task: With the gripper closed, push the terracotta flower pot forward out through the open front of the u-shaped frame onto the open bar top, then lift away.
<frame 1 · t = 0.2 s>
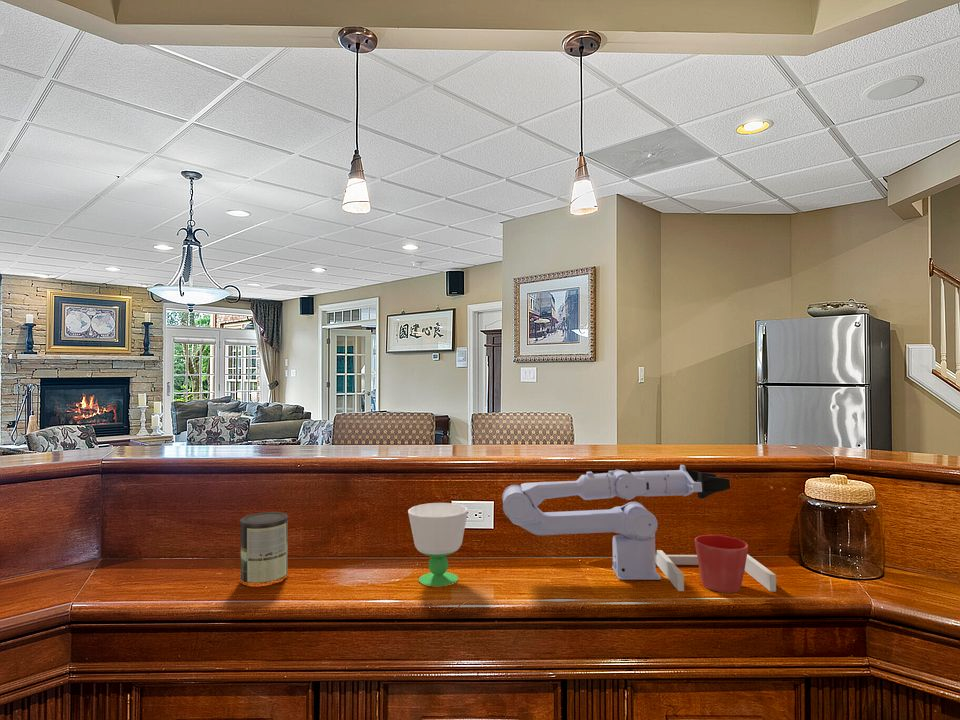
hand: (722, 481, 131), 21 cm above the table, tool horizontal, fingers open, 7 cm apart
cup: (438, 580, 128), on the table
coffee can: (264, 580, 130), on the table
flower pot: (721, 587, 123), on the table
u-shaped frame: (712, 577, 128), on the table
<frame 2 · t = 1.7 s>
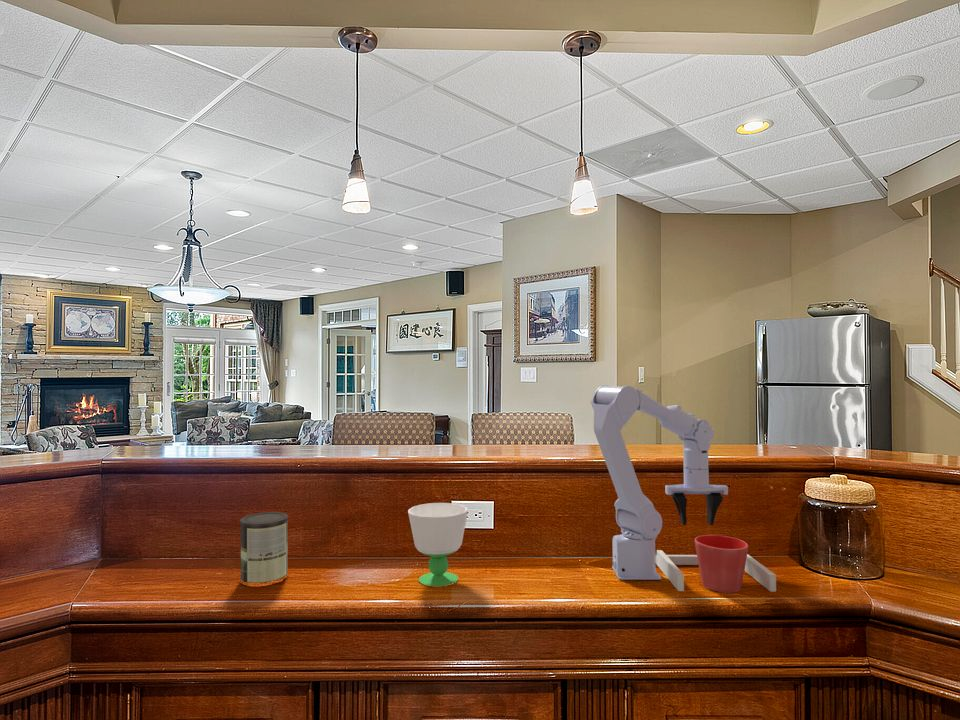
hand: (696, 523, 138), 9 cm above the table, tool pointing down, fingers open, 6 cm apart
nothing on the table moved.
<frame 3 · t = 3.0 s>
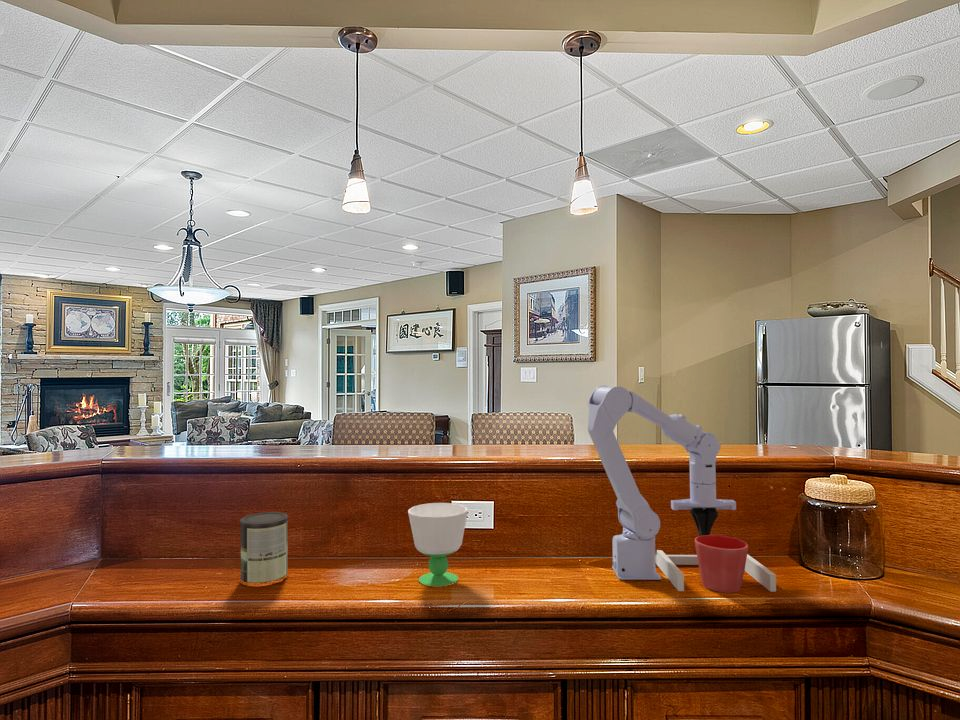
hand: (704, 540, 134), 7 cm above the table, tool pointing down, fingers closed
nothing on the table moved.
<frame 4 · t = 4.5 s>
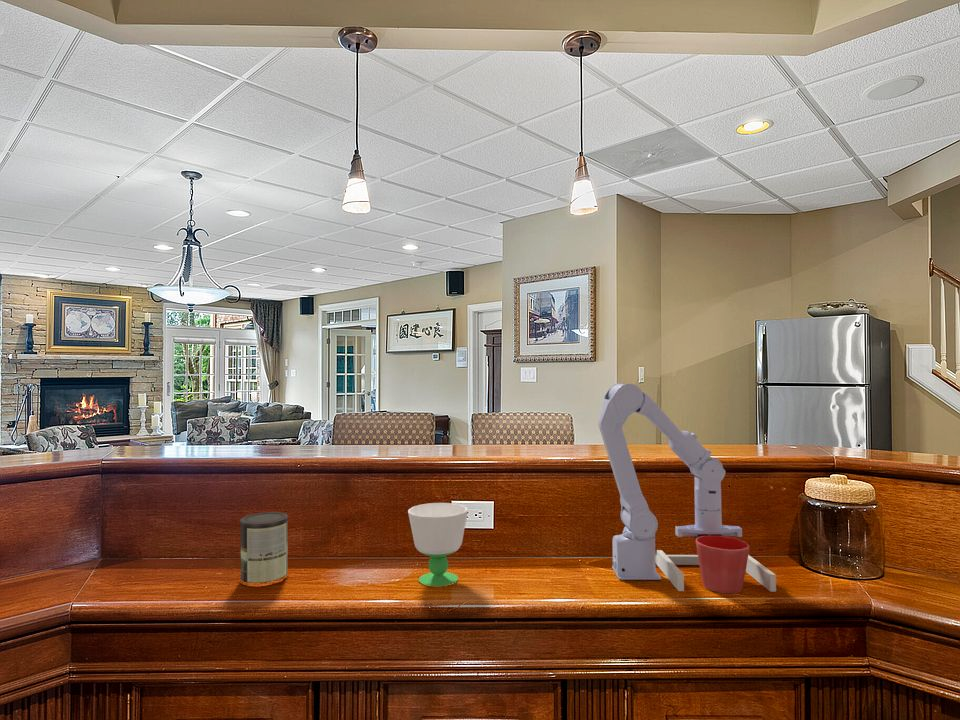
hand: (709, 567, 130), 1 cm above the table, tool pointing down, fingers closed
flower pot: (722, 587, 122), on the table, touching gripper
everything else where it was.
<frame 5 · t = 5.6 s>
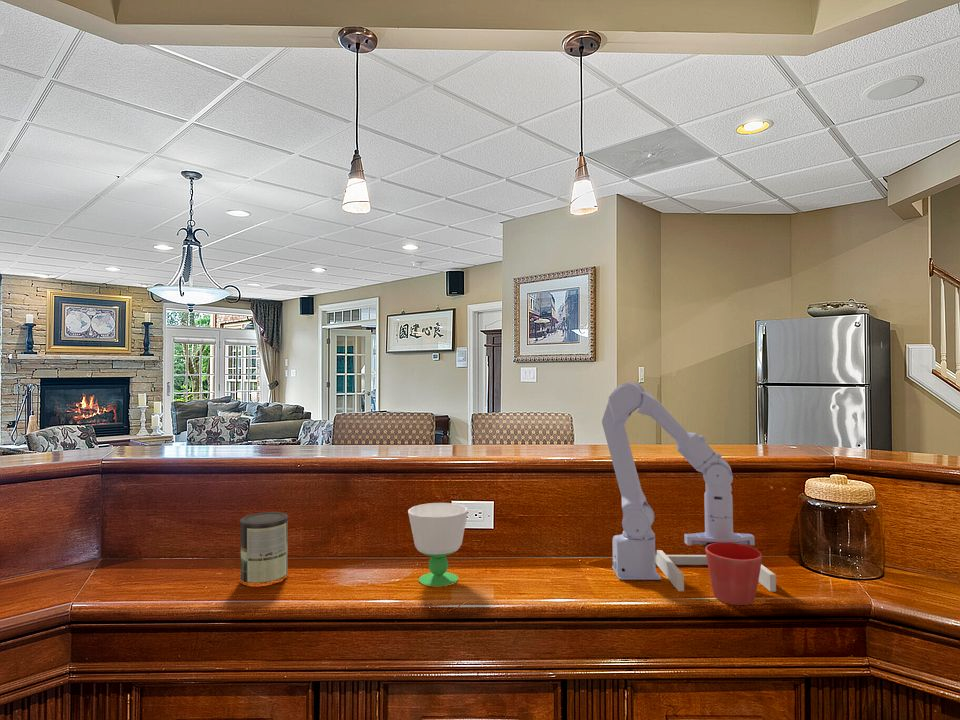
hand: (719, 577, 124), 1 cm above the table, tool pointing down, fingers closed
flower pot: (734, 598, 116), on the table, touching gripper
everything else where it was.
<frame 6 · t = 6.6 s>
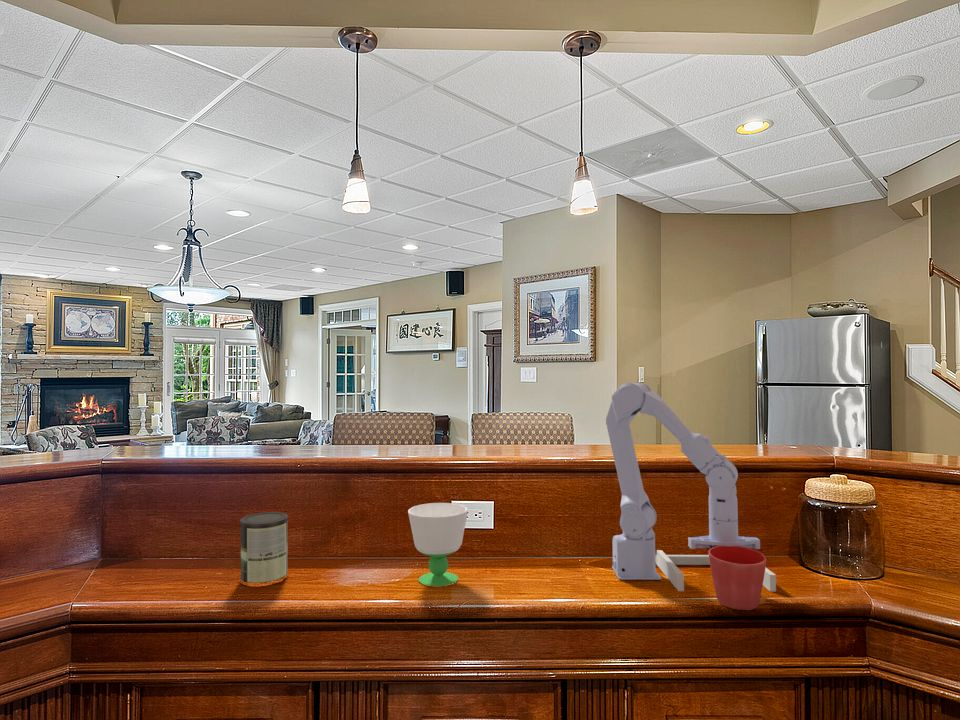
hand: (724, 581, 121), 1 cm above the table, tool pointing down, fingers closed
flower pot: (737, 602, 114), on the table, touching gripper
everything else where it was.
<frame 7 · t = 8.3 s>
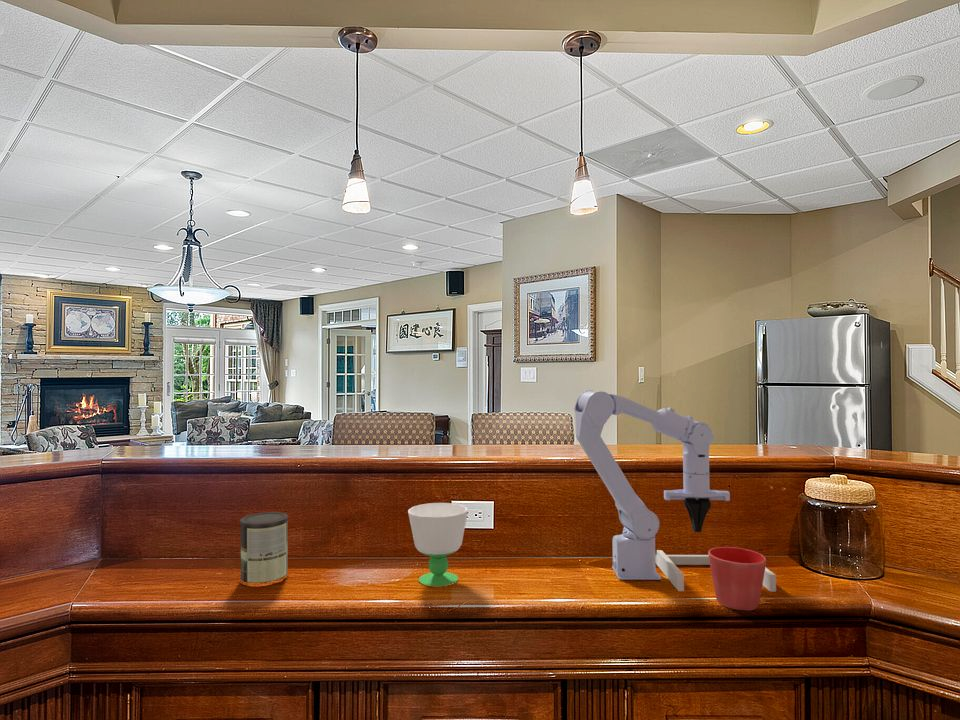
hand: (697, 531, 132), 9 cm above the table, tool pointing down, fingers closed
flower pot: (737, 603, 114), on the table
everything else where it was.
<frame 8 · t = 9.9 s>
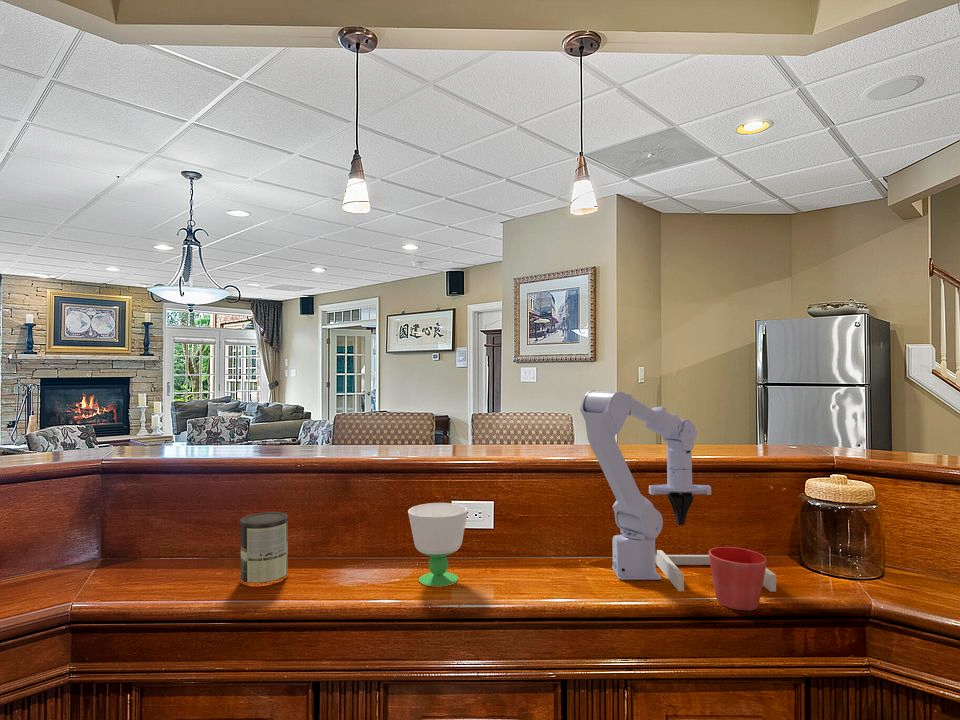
hand: (680, 523, 138), 9 cm above the table, tool pointing down, fingers closed
nothing on the table moved.
at the end: flower pot inside the target area (0.9 cm from its centre), on the table; flower pot tilted 0°; flower pot moved 8.9 cm from its start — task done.
